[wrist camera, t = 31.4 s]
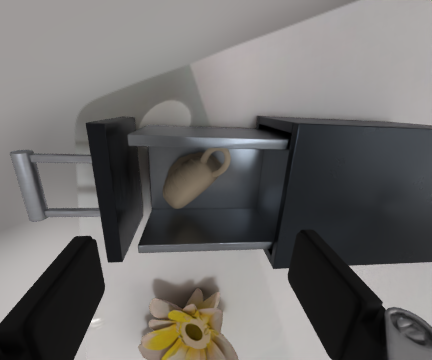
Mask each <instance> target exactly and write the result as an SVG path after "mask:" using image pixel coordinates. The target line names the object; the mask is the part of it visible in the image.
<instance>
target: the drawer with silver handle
mask: <svg viewBox="0 0 432 360" xmlns="http://www.w3.org/2000/svg"><path fill="white" fill-rule="evenodd" d="M86 129H87V135H88V141H89V147H90V153H91V155H82V154H34V152H33V151H32V150H17V151H13V152H10V156H11V159H12V163H13V166H14V170H15V173H16V176H17V180H18V183H19V187H20V190H21V193H22V197H23V200H24V204H25V207H26V210H27V214H28V217H29V220H30V221H32V222H36V221H41V220H44V219H46V218H48V217H94V216H101V222H102V228H103V235H104V241H105V247H106V253H107V260H108V262H123V260H124V257H125V255H126V253H127V251H128V248H129V246H130V244H131V242H132V239H133V237H134V235H135V233H136V230H137V228H138V226H139V224H140V222H141V219H142V217H143V210H142V197H141V185H140V173H139V161H138V148H137V146H148V155H149V170H150V186H151V201H152V211H151V213H150V216H149V219H148V221H147V224H146V226H145V229H144V231H143V234H142V237H141V239H140V242H139V244H138V251H139V253H155V252H186V251H218V250H249V249H273V244H274V238H275V232H276V226H277V220H278V214H279V208H280V202H281V196H282V190H283V184H284V178H285V172H286V166H287V160H288V154H289V148H290V143H291V137H292V136H289V135H286V134H283V133H280V132H277V131H274V130H271V129H244V128H218V127H191V126H165V125H147V126H145V127H143V128H141V129H139V130H136V124H135V117H117V118H111V119H105V120H99V121H94V122H88V123H86ZM208 148H227V149H228V150H229V152H230V155H231V161H230V165H229V167H228V168H227V170H226V171H225V172H224V173H223V174H221V175H219V177H218V178H217V179H216V180H215V181H214V182H213V183H212V184H211V185H210V186H209V187H208V188H207V189H206V190H205V191H203V192H202V193H201V194H200V195H199V196H198V197H196V198H195V199H194V200H193V201H191V202H190V203H189V204H187V205H186V206H184V207H182V208H179V209H175V208H173V207H171V206H170V205H169V204H168V203H167V202H166V201H165V199H164V197H163V185H164V184H165V179H166V178H167V176H168V171H169V169H170V167H171V166H172V165H173V164H174V163H176V161H177V160H178V159H179V158H181V157H184V156H187V155H189V154H196V153H198V152H202V153H204V152H205V151H206V150H207V149H208ZM211 155H212V156H213V157H215V158H217V159H218V160H219V161H220V162H221V163H222V164H223V163H224V160H225V156H224V153H223V152H222V151H215V152H213V153H212V154H211ZM36 162H48V163H49V162H50V163H92V166H93V172H94V178H95V185H96V191H97V197H98V203H99V208H49V209H48V207H47V203H46V199H45V196H44V191H43V187H42V184H41V179H40V176H39V172H38V168H37V164H36Z"/></svg>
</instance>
